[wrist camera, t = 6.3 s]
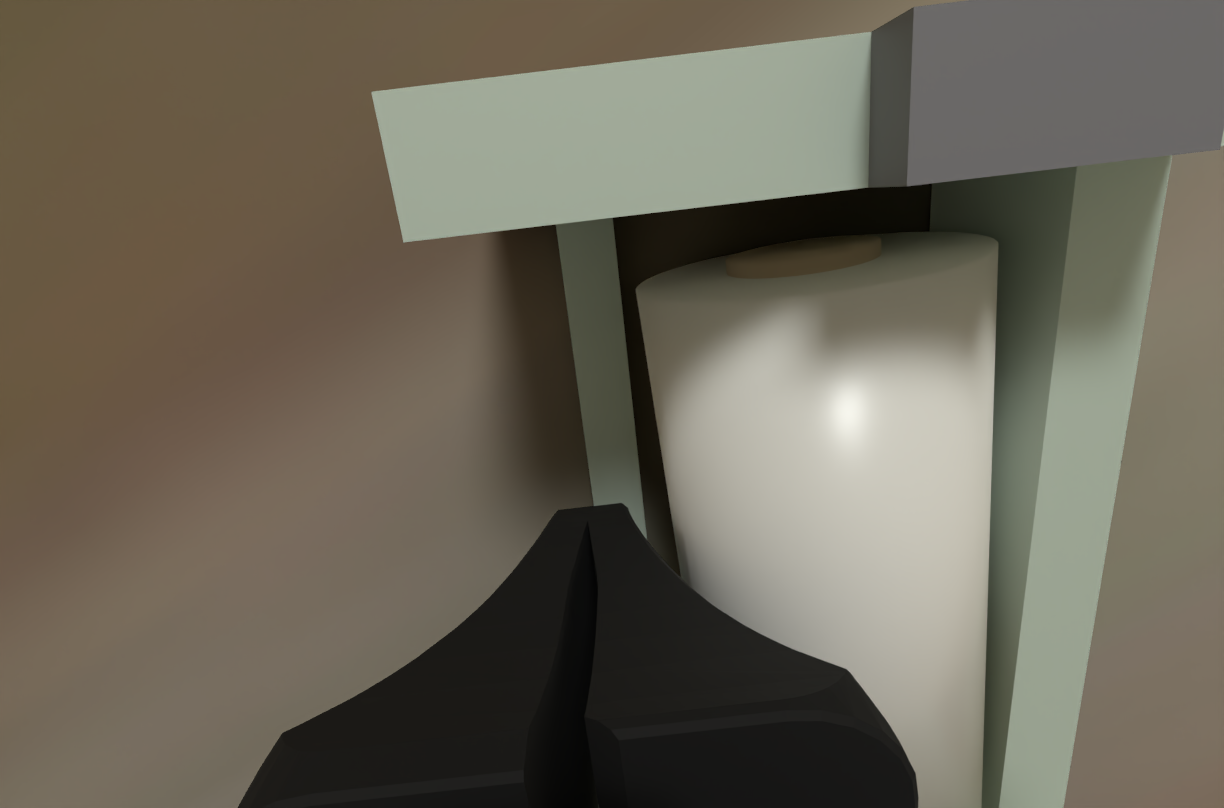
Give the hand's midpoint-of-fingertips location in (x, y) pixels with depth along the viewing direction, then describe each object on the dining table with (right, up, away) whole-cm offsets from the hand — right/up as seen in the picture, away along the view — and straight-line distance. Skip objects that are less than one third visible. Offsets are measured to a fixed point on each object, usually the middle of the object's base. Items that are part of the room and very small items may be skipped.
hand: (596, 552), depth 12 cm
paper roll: (+4, 0, -1) cm, 4 cm away
